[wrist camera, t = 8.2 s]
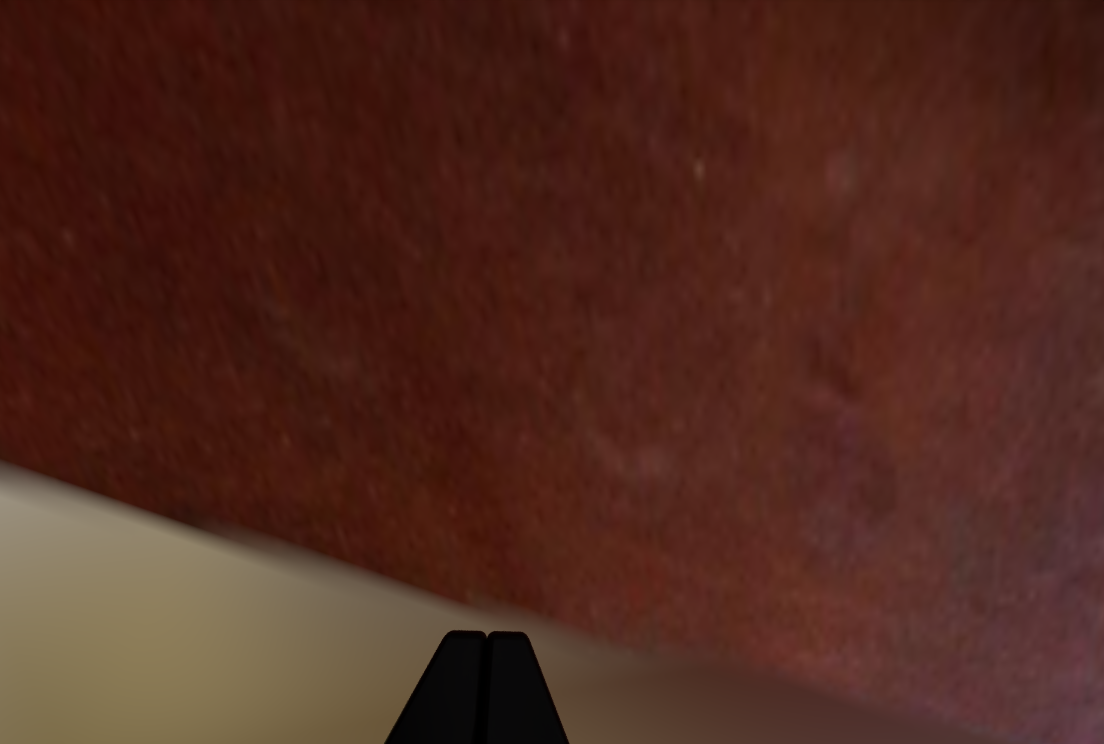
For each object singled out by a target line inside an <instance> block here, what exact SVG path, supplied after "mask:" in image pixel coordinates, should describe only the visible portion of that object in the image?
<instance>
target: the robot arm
mask: <svg viewBox="0 0 1104 744" xmlns="http://www.w3.org/2000/svg"><path fill="white" fill-rule="evenodd" d="M384 744H569V742H568V739H567V736H566V734H565V731H564V728H563V726H562V723H561V721H560V718H559V715H558V713H557V710H556V707H555V705H554V702H553V700H552V697H551V694H550V692H549V689H548V687H547V684H546V681H545V679H544V676H543V674H542V671H541V668H540V666H539V663H538V660H537V658H536V655H535V653H534V650H533V647H532V645H531V642H530V640H529V638H528V636H527V635H526V634H525V633H523V632H511V631H493V632H491V633H490V634H489V635H488V637H487V636H486V634H485V633H484V632H482V631H463V630H453V631H450V632H448V633H447V634H446V635H445V636H444V638H443V639H442V641H441V643H440V644H439V646H438V648H437V650H436V652H435V653H434V655H433V657H432V659H431V660H430V662H429V664H428V666H427V668H426V669H425V671H424V673H423V675H422V677H421V678H420V680H419V682H418V684H417V685H416V687H415V689H414V691H413V693H412V694H411V696H410V698H409V700H408V701H407V703H406V705H405V707H404V709H403V711H402V712H401V714H400V716H399V717H398V719H397V721H396V723H395V725H394V726H393V728H392V730H391V732H390V734H389V736H388V737H387V739H386V741H385V742H384Z"/></svg>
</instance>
